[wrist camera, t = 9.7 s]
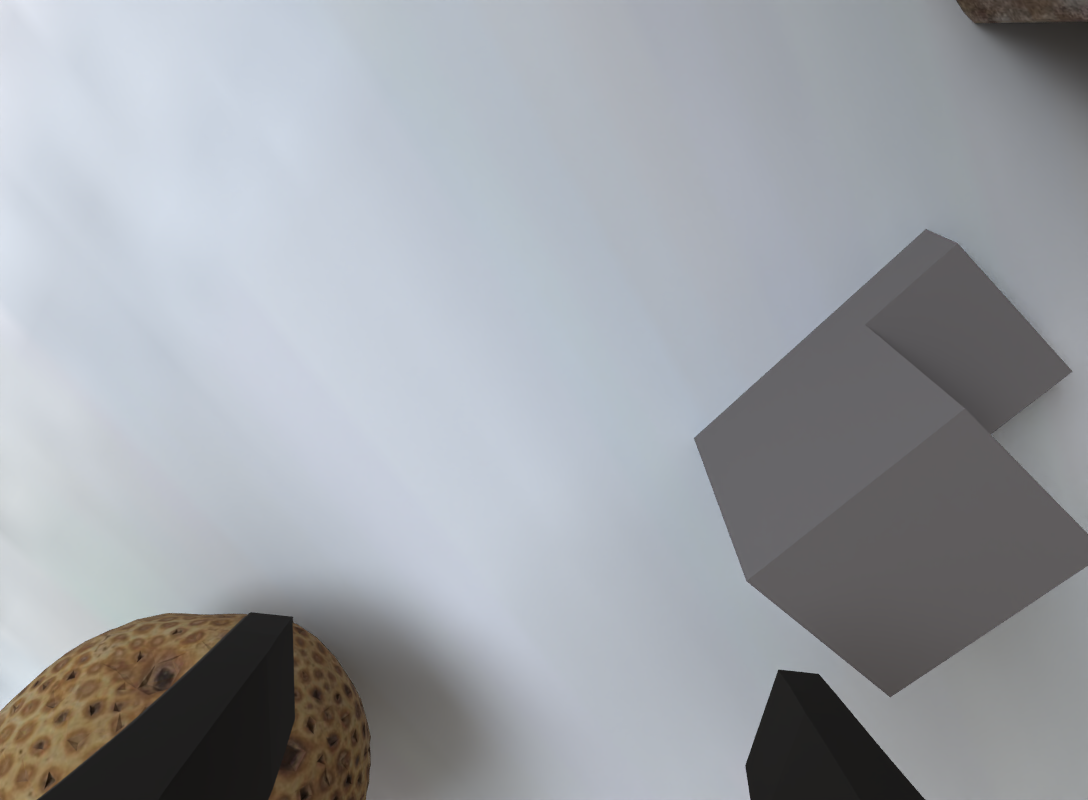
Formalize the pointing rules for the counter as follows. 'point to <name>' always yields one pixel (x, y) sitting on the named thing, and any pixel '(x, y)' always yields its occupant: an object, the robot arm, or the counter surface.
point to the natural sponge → (150, 670)
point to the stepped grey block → (896, 470)
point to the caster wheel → (1025, 10)
